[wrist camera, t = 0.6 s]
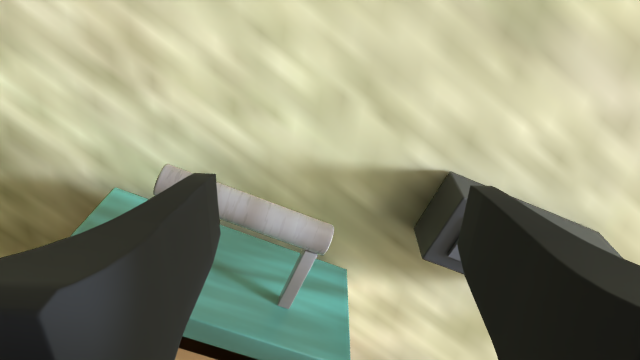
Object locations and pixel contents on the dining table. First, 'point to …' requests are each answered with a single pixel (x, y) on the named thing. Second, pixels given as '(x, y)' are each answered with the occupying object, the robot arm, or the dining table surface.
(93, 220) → the drawer
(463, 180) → the remote
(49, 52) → the dining table surface
